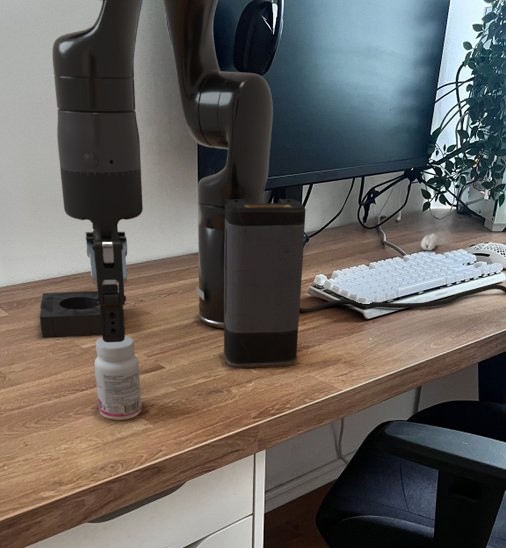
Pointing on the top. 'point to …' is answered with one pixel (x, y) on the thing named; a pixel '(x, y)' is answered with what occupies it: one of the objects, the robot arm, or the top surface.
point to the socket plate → (70, 314)
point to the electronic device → (262, 282)
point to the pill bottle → (117, 379)
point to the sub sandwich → (429, 242)
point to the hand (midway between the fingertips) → (112, 326)
